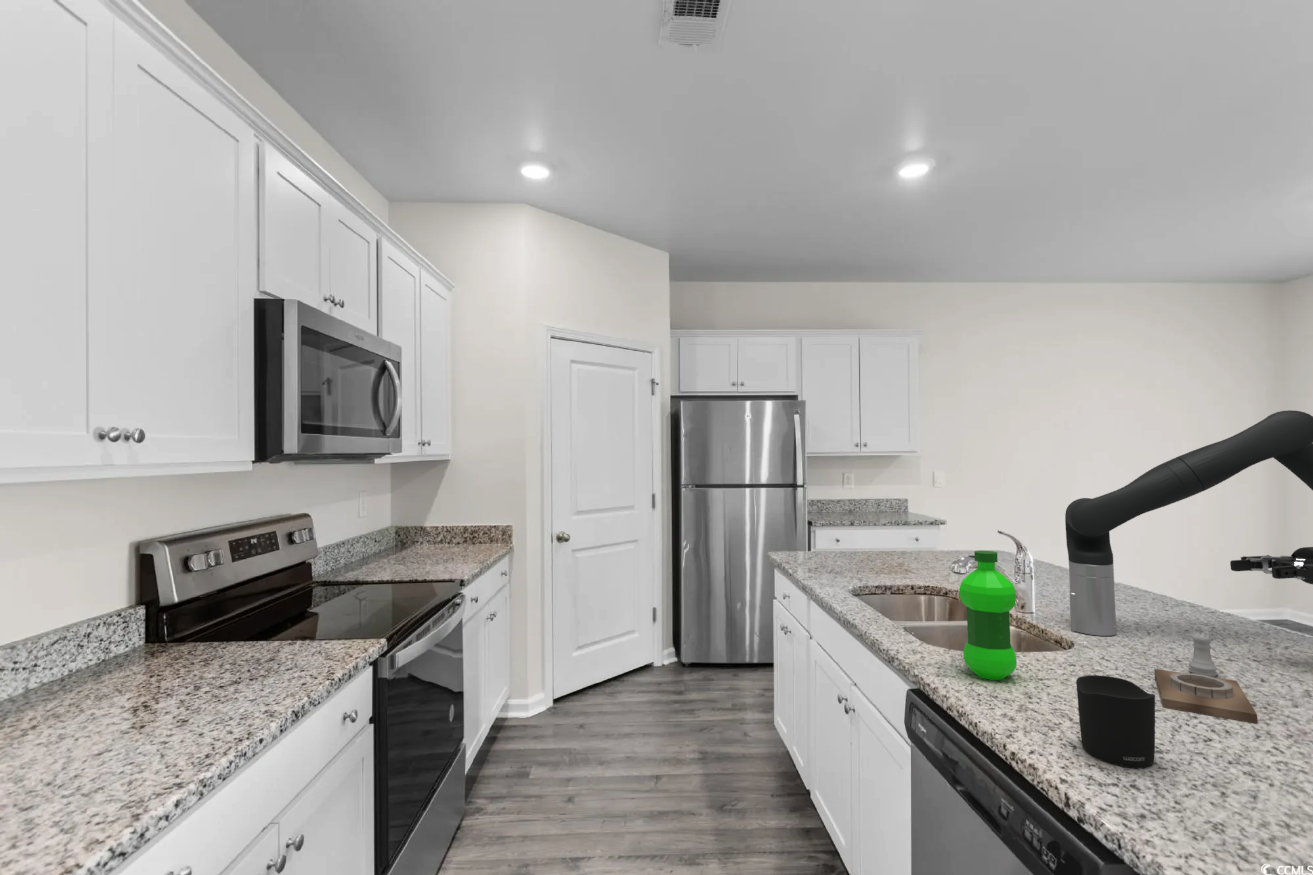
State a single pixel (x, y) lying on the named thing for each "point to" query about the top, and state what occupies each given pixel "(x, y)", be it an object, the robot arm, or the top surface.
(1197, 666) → the rook chess piece
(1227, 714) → the ring plate
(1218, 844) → the top surface
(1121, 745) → the pen holder
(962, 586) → the plastic bottle
